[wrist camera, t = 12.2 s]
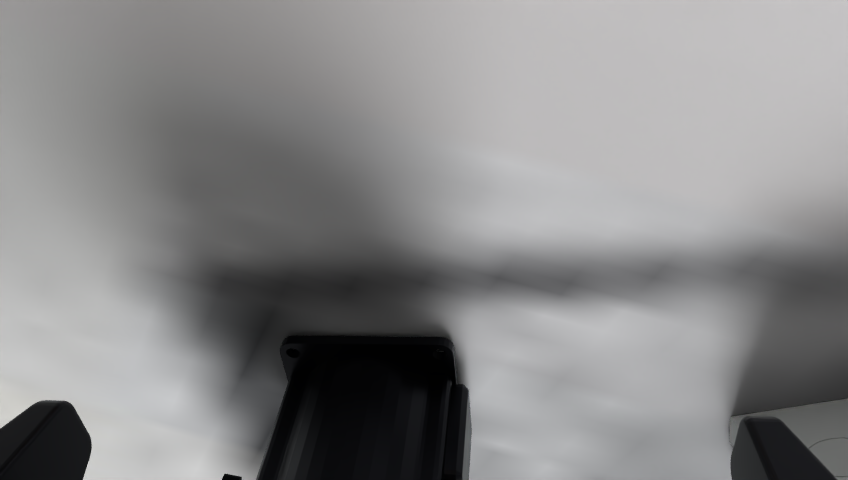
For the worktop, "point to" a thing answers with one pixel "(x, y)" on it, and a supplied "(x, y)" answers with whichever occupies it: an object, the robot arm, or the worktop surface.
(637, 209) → the worktop surface
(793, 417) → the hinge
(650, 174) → the worktop surface
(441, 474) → the robot arm
